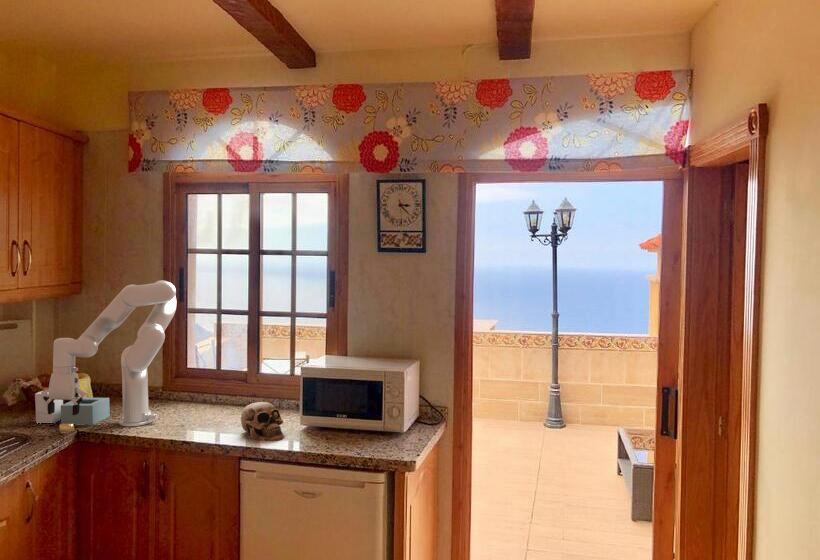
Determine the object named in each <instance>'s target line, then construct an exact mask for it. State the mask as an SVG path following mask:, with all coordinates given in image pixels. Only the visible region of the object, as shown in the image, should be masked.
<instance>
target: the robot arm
mask: <svg viewBox="0 0 820 560" xmlns="http://www.w3.org/2000/svg"><path fill="white" fill-rule="evenodd" d="M176 294H177V289H176V287H175V285H174V284H173V283H172V282H170V281H167V280H164V279H163V280H162V279H161V280H157V281H155V282H153V283H146V284H138V285H137V284H128V285H126V286H125V287H123V288H122V289H121V291H119V293H118V294H117V295H116V296H115V297H114V298H113V299H112V301H111V302H110V303H109V304H108V305H107V306H106V307H105V308H104V309H103V311H102V312H100V313H99V315H98V316H97V317H96V318H95V320H94V321H92V323H91V324H90V325H89V326H88V327H87V328H86V329H85V331H84V332H83V333H82V334H81V335H80V336H79V338H77V339H74V338H72V337H60V338H59V337H58V338H56V339H55V340H54V341H53V356H52V357H53V358H52V360H53V362H52V373H51V375H50V379H49V385H48V388H47V389H45V390H41V391H42V392H41V391H40V392H41V394H42V396H43V399H44V400H45V401H46V404H48V409H47V410H48V414H52V413H54V412H55V403H54V402H53V401H54V400H55V399H56V400H63V401H72V402H73V403H74V405H73V413H72V415H77V414H79V408H80V403H81V402H82V401H83V400H84V398H86V396H87V392H85V391H83V390H81V388H80V387H81V386H80V379H79V374H78V371H79V367H76V357H77V358H90V357H93V356H94V355H96V354H97V352H98V350H99V345H101V344H100V343H102V341H103V340H104V339H105V338H106V337H107V336H108V335H109V334H110V333H111V332H112V331H114V330H115V329H118V328H119V327H120V326H121V325H122V324H123V323H124V322H125V321H126V320H127V318H128V317H129V316H130V315H131V314H132V312H133V311H134V310H136V308H137V307H145V306H153V305H154V306H153V307H152V310H151V311H150V313H149V315H148V317H147V318H146V319H145V321H144V322H143V324H142V325H141V326H140V327H139V329H138V331H137V338H136V340H135V341H134V342H133V344H131V345H129V346H126V348H125V349H123V351H122V353H121V357H120V364H121V375H122V376H121V382H122V385H121V387H122V392H121V393H122V419H119V421H118V424H119V426H122V427H139V426H144V425H148V424H150V423H152V422H153V420H157V419H158V418H159V415H158V413H157V412H156V413H155V412H152V410H151V409H149V375H148V373H149V372H148V367H149V366H150V365H151V363H152V361H153V360H154V359H155V356H157V354H158V352H159V351H160V349H161V347H162V346H163V344H164V342H165V339H166V334H165V331H166V329H167V327H168V326H169V325H170V323H171V321H172V319H173V318H174V316H175V313H176V310H177V297H176ZM48 392H49V396H47V393H48Z"/></svg>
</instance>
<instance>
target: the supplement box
mask: <svg viewBox="0 0 820 560" xmlns="http://www.w3.org/2000/svg"><path fill="white" fill-rule="evenodd" d="M42 391H43V390H41V391H38V392H36V393H35V394H34V402H35V423H37V425H42V424H41V423H54V424H56V423H55V422H57V421H59V422H61V421H60V420H61V405H63V404H64V400H56V399H55V400H54V401H53V402H54V403H55V412H54V413H52V414H48V410H47V409H48V404H46V401H45V400H44V399H43V396H42V394H41V392H42ZM47 396H49V392H48V393H47ZM38 423H40V424H38ZM57 423H58V422H57Z"/></svg>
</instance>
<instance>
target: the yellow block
mask: <svg viewBox="0 0 820 560" xmlns="http://www.w3.org/2000/svg"><path fill="white" fill-rule="evenodd" d="M58 425H59V433H60V432H71V431H74V432H75V425H74V423H72V422H68V423H62V424H61V423H60V424H58ZM71 433H72V432H71Z"/></svg>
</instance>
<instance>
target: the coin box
mask: <svg viewBox="0 0 820 560" xmlns="http://www.w3.org/2000/svg"><path fill="white" fill-rule="evenodd" d="M73 405H74V403H73V402H72V401H71V400H69V401H68V402H65V403H63V405H61V421H60V424H62V423H68V422H72V423H74V424H88V425H87V426H94V425H97V424H98V423H100V422H102V421H104V420H106V419H108V418H110V417H109V416H110V415H111V413H110V412H111V411H110V397H85V398H84V400H83V401H82V402H81V403H80V408H79V414H77V415H72V413H73ZM107 417H108V418H107ZM103 419H104V420H103ZM101 420H102V421H101ZM99 421H100V422H99ZM93 424H94V425H93Z"/></svg>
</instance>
